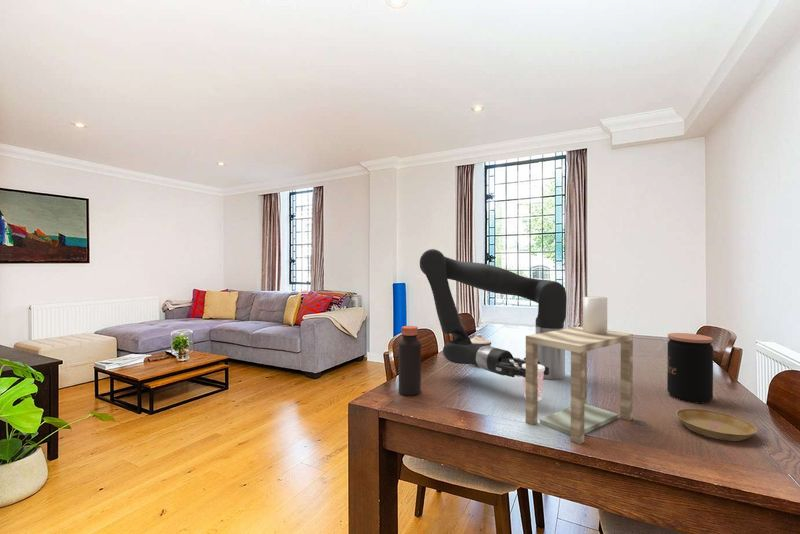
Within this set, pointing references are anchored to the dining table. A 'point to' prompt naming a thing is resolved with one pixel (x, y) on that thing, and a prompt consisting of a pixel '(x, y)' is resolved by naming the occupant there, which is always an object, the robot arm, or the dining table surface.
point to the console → (578, 380)
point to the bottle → (409, 362)
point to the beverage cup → (540, 380)
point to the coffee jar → (690, 367)
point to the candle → (595, 315)
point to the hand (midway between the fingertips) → (540, 373)
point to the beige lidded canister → (480, 342)
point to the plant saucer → (734, 425)
